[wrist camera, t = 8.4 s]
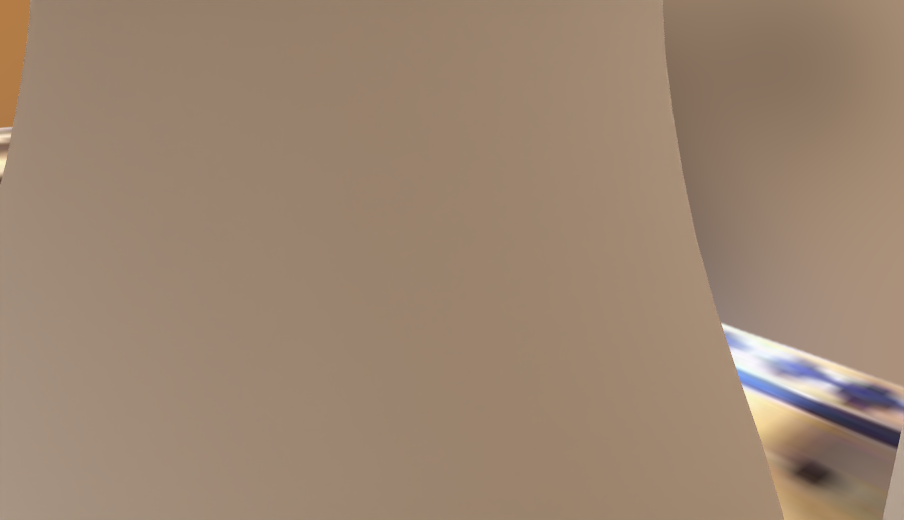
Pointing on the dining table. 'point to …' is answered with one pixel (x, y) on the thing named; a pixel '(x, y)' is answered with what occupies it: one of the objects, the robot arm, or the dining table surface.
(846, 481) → the dining table surface
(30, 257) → the milk bottle
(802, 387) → the dining table surface
